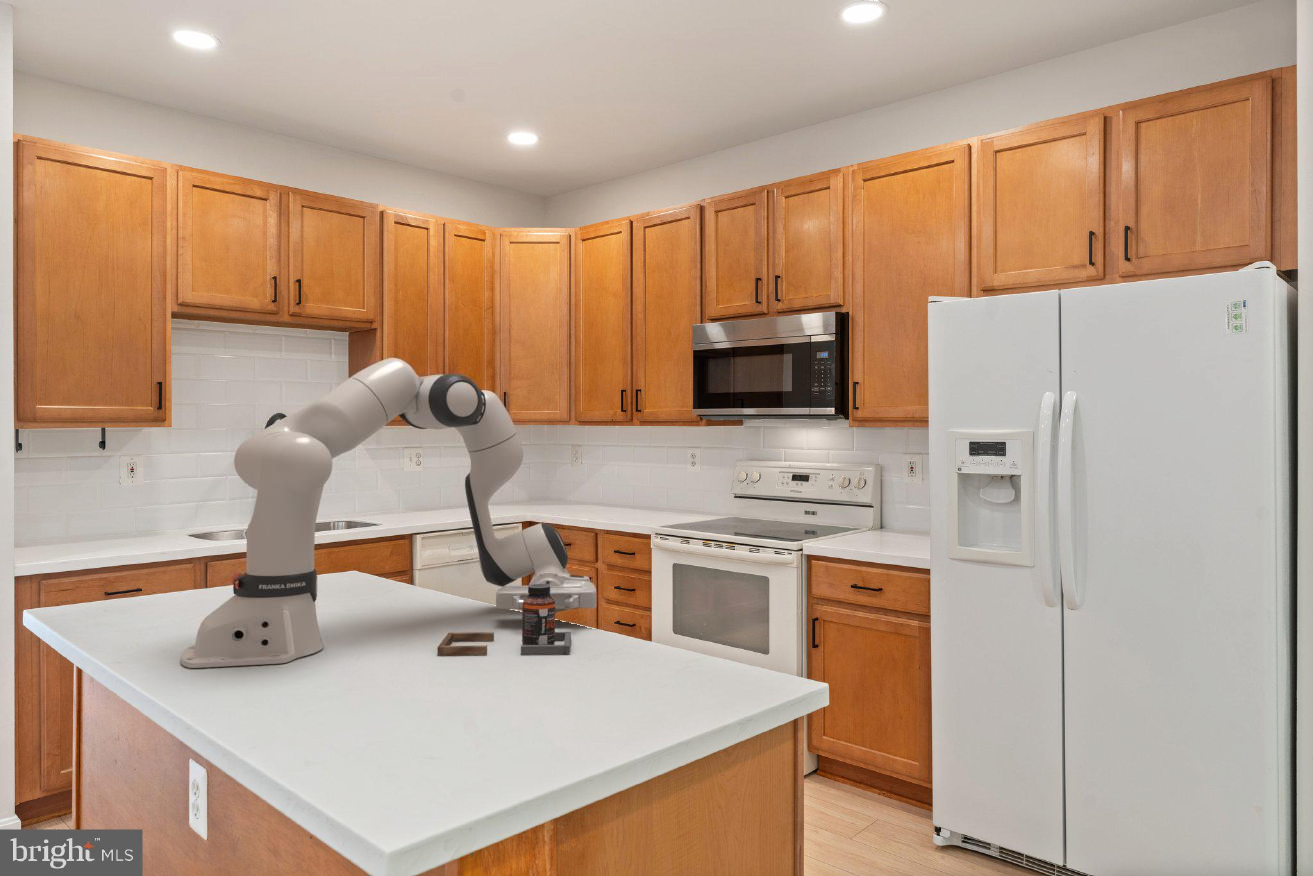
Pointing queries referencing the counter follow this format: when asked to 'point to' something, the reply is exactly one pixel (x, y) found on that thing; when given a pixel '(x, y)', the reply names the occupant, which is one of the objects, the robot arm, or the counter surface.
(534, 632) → the supplement bottle
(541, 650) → the charcoal bay
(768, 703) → the counter surface
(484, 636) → the walnut bay
